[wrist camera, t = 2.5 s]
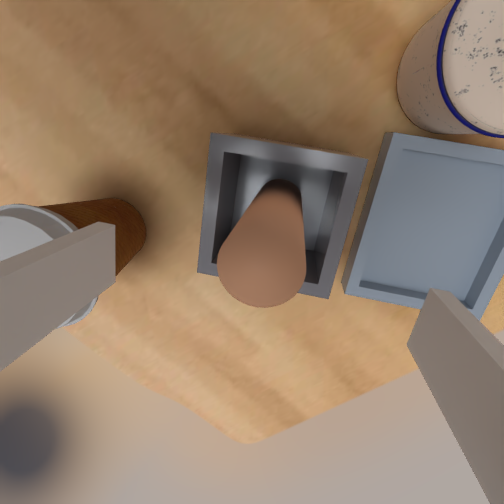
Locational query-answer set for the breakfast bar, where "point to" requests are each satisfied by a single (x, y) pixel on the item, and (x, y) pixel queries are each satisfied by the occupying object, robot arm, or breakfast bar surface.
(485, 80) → the teacup with lid
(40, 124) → the breakfast bar surface
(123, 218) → the disposable coffee cup
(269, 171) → the open square box
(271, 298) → the dowel
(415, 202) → the tray
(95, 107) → the breakfast bar surface
